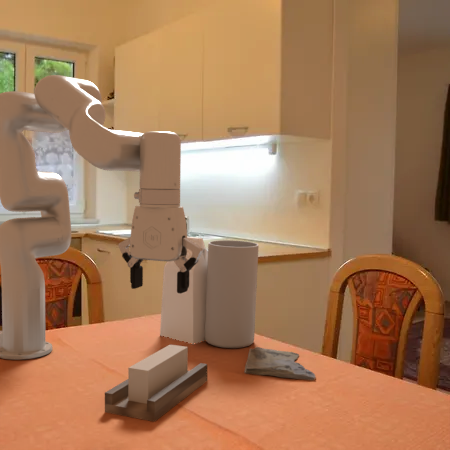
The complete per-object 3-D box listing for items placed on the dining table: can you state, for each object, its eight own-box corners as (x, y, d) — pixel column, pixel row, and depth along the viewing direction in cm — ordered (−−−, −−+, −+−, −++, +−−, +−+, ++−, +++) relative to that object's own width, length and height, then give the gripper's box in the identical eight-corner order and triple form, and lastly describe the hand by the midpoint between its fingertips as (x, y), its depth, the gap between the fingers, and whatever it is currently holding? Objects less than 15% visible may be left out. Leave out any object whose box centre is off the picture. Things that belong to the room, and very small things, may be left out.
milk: (223, 335, 155) (224, 237, 153) (193, 344, 146) (194, 240, 144) (190, 327, 162) (191, 234, 160) (159, 335, 154) (160, 237, 152)
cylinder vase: (195, 337, 150) (199, 241, 147) (236, 332, 157) (240, 239, 154) (221, 351, 139) (225, 248, 137) (263, 345, 146) (268, 246, 143)
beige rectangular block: (128, 400, 105) (128, 367, 104) (169, 373, 120) (169, 344, 119) (148, 403, 103) (148, 370, 103) (187, 376, 118) (187, 346, 118)
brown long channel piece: (104, 411, 103) (104, 392, 103) (163, 374, 123) (164, 357, 123) (154, 421, 99) (154, 401, 99) (207, 380, 120) (207, 364, 119)
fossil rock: (248, 354, 140) (248, 345, 139) (311, 358, 138) (311, 348, 138) (242, 379, 122) (243, 368, 122) (315, 383, 121) (315, 372, 121)
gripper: (109, 198, 108) (109, 289, 110) (193, 201, 102) (192, 297, 103) (130, 197, 115) (130, 282, 117) (210, 199, 109) (209, 290, 110)
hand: (159, 289), depth 110 cm, fingers open, 9 cm apart
